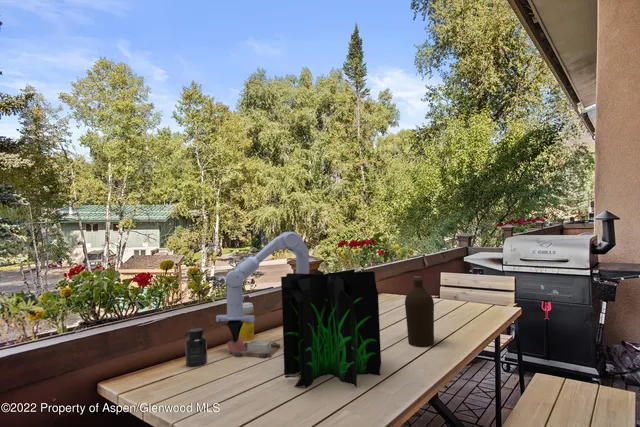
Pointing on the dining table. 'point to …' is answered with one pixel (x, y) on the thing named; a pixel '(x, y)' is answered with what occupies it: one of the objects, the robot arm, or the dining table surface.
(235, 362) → the dining table surface
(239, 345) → the tailgate
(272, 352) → the wagon bed
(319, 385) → the dining table surface
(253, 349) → the block
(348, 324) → the decorative plant
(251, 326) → the yellow bottle
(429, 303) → the olive oil
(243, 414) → the dining table surface
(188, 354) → the supplement bottle
